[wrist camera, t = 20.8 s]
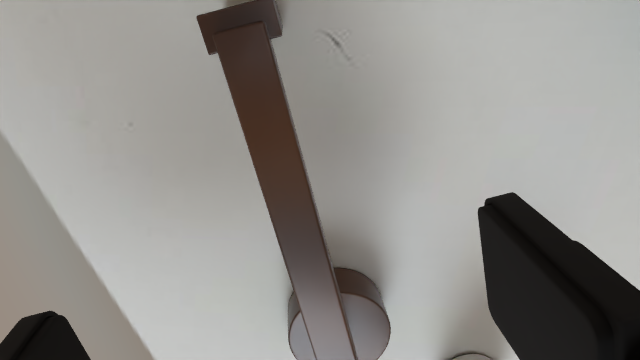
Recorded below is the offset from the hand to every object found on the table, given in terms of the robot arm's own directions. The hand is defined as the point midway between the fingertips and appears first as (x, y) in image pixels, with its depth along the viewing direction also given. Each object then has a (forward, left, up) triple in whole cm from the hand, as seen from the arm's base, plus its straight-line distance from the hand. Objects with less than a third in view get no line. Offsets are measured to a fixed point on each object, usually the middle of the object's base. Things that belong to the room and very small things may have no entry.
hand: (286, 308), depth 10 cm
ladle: (+3, 0, -13) cm, 14 cm away
